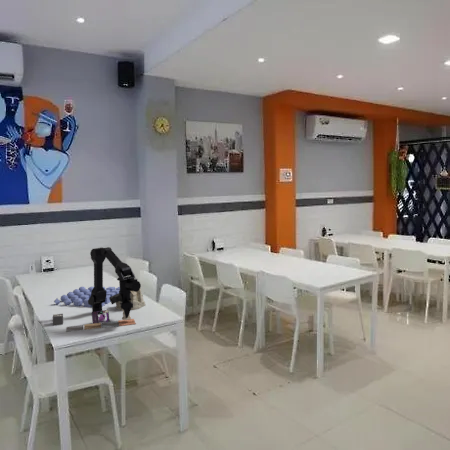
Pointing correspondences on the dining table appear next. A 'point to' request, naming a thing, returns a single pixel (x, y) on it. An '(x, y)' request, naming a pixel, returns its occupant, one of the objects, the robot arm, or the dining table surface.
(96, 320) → the game card
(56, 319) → the die
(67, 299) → the blocks
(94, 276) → the robot arm
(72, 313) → the dining table surface
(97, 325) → the game board
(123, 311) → the pawn
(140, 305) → the sand castle
